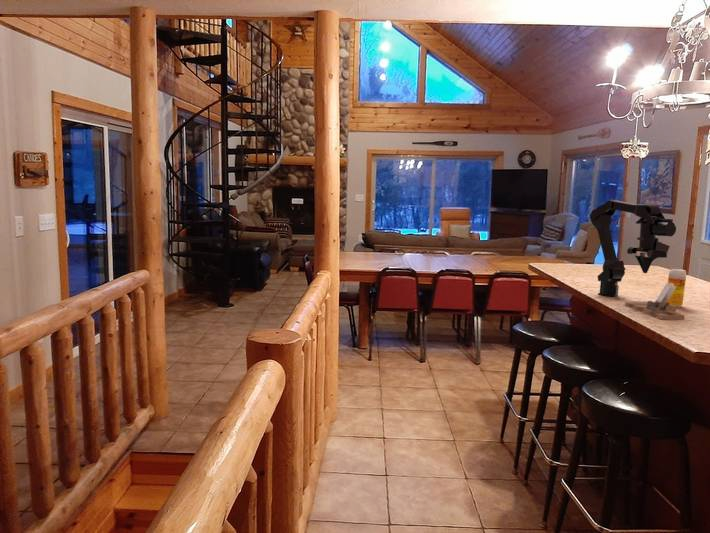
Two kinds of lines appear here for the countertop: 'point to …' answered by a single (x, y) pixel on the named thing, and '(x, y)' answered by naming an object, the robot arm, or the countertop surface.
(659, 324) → the countertop surface
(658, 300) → the lever
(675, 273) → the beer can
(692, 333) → the countertop surface
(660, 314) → the base
